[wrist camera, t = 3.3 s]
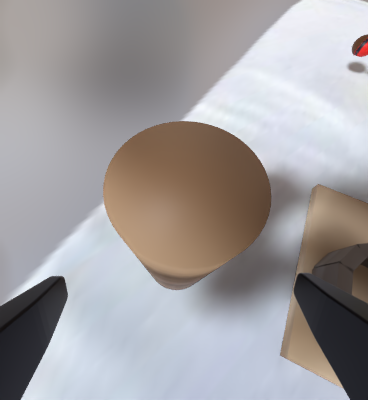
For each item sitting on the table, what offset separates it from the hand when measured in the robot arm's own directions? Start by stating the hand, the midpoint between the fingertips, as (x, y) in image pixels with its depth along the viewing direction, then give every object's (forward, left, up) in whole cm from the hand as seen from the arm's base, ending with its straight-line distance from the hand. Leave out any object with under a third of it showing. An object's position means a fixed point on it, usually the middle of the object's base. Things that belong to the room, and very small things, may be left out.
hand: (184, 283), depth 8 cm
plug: (+2, +1, -10) cm, 10 cm away
